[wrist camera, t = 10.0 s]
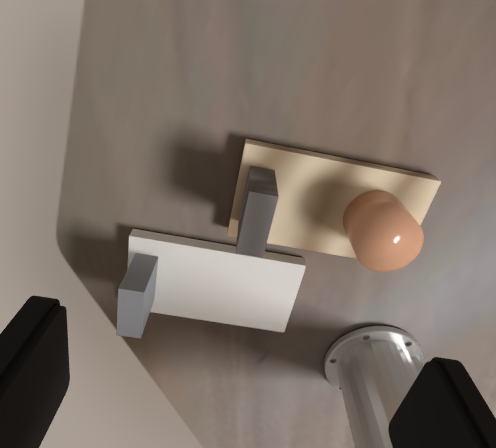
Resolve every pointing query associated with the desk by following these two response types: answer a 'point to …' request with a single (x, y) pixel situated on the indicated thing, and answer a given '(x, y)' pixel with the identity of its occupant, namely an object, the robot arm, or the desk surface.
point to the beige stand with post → (311, 197)
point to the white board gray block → (205, 284)
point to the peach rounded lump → (382, 231)
